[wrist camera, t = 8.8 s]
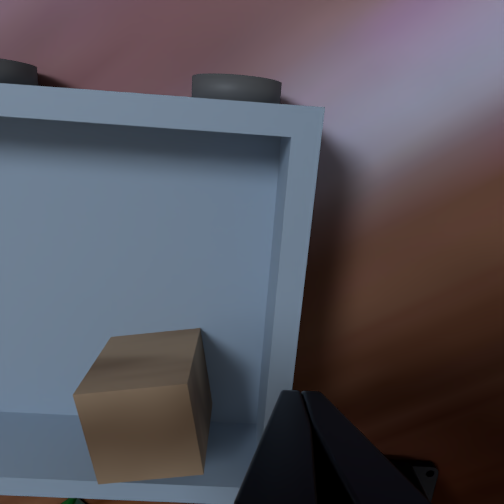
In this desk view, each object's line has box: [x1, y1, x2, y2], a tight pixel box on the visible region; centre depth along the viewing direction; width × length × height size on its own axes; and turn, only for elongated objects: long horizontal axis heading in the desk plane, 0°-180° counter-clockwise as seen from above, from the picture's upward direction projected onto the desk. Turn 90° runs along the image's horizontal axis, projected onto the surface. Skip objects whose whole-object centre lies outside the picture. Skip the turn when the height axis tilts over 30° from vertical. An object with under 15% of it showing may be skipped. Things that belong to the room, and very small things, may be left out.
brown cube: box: [73, 328, 213, 484], centre depth 18 cm, size 4×4×4 cm
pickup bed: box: [0, 59, 325, 504], centre depth 18 cm, size 19×16×6 cm
